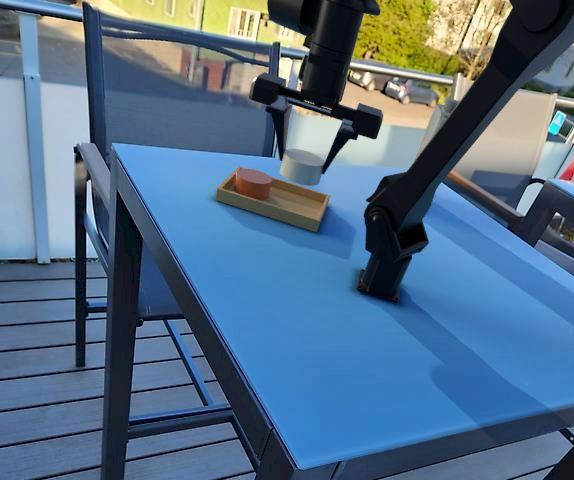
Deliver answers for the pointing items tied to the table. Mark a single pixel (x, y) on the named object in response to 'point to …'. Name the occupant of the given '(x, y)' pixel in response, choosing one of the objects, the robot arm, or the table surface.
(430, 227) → the table surface
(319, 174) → the white short cylinder
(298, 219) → the serving tray
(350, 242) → the table surface
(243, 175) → the reddish-brown short cylinder
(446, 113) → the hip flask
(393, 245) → the robot arm
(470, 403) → the table surface
